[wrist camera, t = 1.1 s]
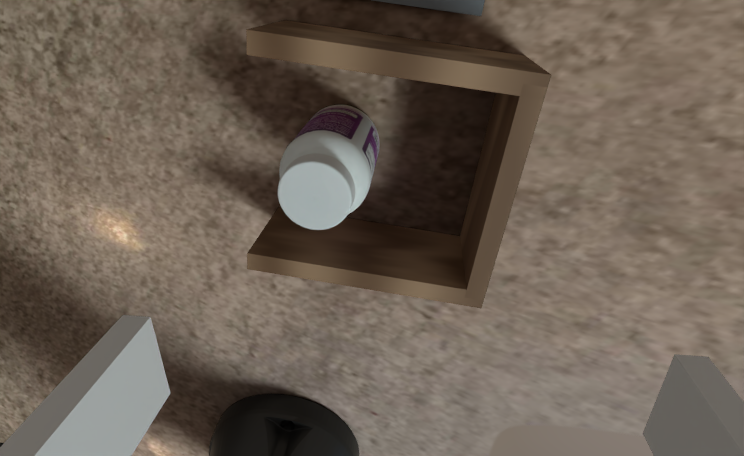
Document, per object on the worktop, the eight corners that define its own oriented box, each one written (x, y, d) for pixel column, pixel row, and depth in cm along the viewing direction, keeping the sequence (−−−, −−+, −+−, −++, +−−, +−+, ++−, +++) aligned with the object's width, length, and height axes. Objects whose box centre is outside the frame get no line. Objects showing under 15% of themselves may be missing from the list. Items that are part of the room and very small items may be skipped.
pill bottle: (291, 145, 33) (243, 200, 25) (335, 86, 31) (299, 125, 22) (350, 191, 34) (324, 259, 26) (396, 138, 32) (385, 193, 24)
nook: (524, 55, 29) (551, 74, 23) (472, 252, 36) (481, 308, 29) (284, 20, 29) (246, 29, 23) (278, 220, 36) (247, 268, 30)
